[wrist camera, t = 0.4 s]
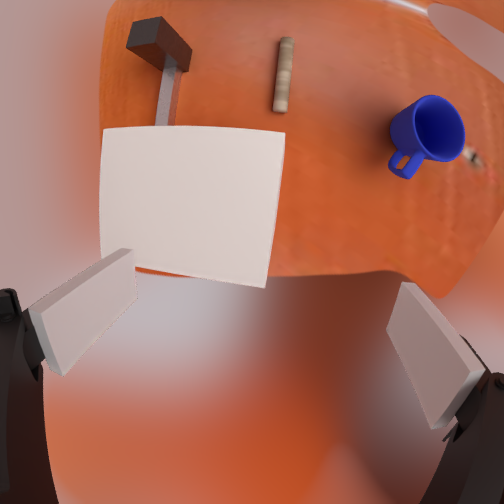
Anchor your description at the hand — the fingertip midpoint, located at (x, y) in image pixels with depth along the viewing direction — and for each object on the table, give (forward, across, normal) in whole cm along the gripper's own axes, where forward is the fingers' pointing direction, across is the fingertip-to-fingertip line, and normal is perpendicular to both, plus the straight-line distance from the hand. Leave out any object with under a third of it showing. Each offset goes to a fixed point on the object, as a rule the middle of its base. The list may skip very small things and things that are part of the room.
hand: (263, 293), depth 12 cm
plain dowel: (+28, -1, +19) cm, 34 cm away
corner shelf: (+28, -8, +2) cm, 29 cm away
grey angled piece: (+28, -15, +15) cm, 35 cm away
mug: (+28, +17, +12) cm, 35 cm away
